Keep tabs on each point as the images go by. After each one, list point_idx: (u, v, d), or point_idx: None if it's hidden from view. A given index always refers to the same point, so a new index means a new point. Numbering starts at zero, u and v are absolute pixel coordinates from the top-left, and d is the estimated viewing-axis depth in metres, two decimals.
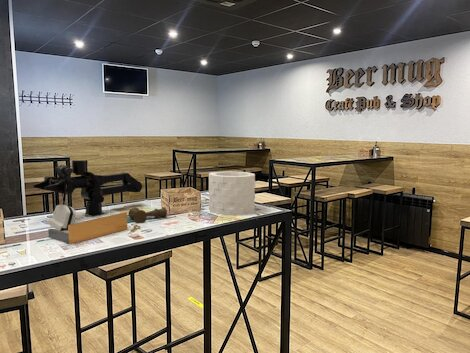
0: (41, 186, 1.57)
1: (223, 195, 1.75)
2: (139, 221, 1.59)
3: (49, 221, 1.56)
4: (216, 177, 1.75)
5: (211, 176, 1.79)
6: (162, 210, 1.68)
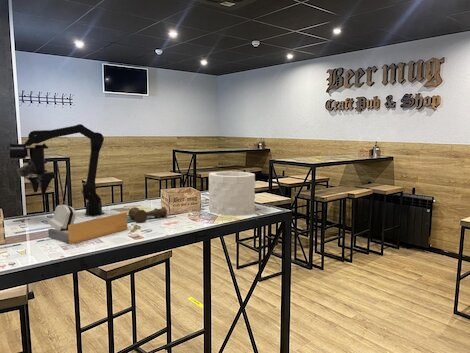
0: (36, 185, 1.65)
1: (223, 195, 1.75)
2: (140, 221, 1.60)
3: (50, 222, 1.56)
4: (216, 177, 1.75)
5: (211, 176, 1.79)
6: (162, 210, 1.69)
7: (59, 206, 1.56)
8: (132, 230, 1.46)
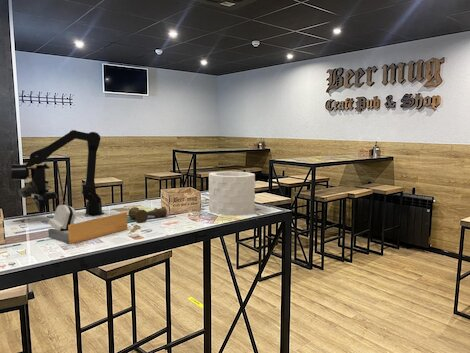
0: None
1: (223, 195, 1.75)
2: (140, 221, 1.60)
3: (50, 222, 1.56)
4: (216, 177, 1.75)
5: (211, 176, 1.79)
6: (161, 210, 1.69)
7: (60, 206, 1.56)
8: (132, 230, 1.46)
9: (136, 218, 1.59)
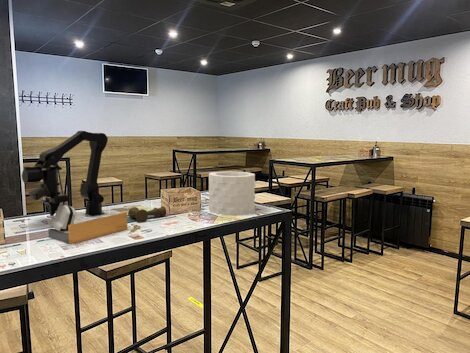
0: None
1: (223, 195, 1.75)
2: (141, 220, 1.61)
3: (51, 222, 1.55)
4: (216, 177, 1.75)
5: (211, 176, 1.79)
6: (161, 209, 1.70)
7: (60, 206, 1.55)
8: (132, 230, 1.46)
9: (137, 218, 1.59)
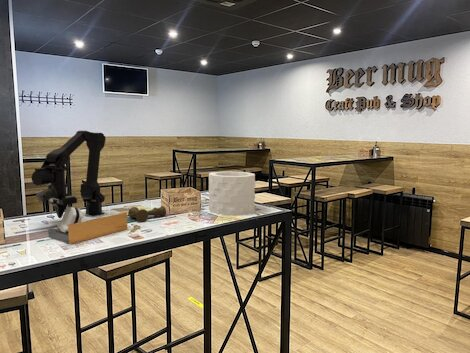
0: None
1: (223, 195, 1.75)
2: (141, 220, 1.61)
3: (58, 223, 1.52)
4: (216, 177, 1.75)
5: (211, 176, 1.79)
6: (161, 209, 1.71)
7: (68, 208, 1.52)
8: (132, 230, 1.46)
9: (137, 218, 1.60)
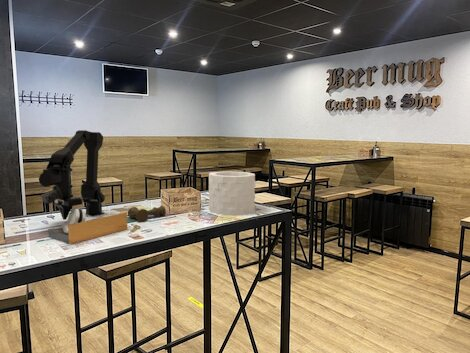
0: None
1: (223, 195, 1.75)
2: (141, 220, 1.61)
3: (63, 225, 1.50)
4: (216, 177, 1.75)
5: (211, 176, 1.79)
6: (160, 209, 1.71)
7: (73, 209, 1.49)
8: (132, 230, 1.46)
9: (137, 217, 1.60)
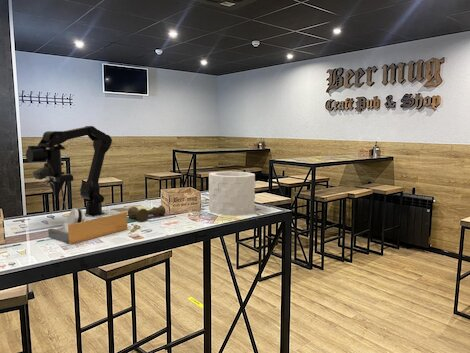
0: None
1: (223, 195, 1.75)
2: (142, 220, 1.62)
3: (63, 226, 1.50)
4: (216, 177, 1.75)
5: (211, 176, 1.79)
6: (160, 208, 1.72)
7: (72, 210, 1.49)
8: (132, 230, 1.46)
9: (138, 217, 1.60)
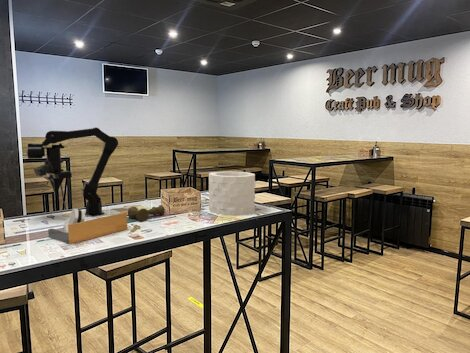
0: None
1: (223, 195, 1.75)
2: (142, 219, 1.62)
3: (64, 226, 1.50)
4: (216, 177, 1.75)
5: (211, 176, 1.79)
6: (160, 208, 1.73)
7: (73, 210, 1.49)
8: (132, 230, 1.46)
9: (138, 217, 1.61)
